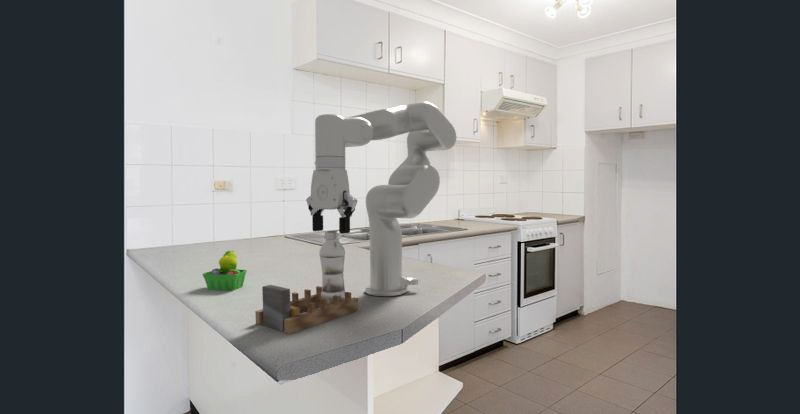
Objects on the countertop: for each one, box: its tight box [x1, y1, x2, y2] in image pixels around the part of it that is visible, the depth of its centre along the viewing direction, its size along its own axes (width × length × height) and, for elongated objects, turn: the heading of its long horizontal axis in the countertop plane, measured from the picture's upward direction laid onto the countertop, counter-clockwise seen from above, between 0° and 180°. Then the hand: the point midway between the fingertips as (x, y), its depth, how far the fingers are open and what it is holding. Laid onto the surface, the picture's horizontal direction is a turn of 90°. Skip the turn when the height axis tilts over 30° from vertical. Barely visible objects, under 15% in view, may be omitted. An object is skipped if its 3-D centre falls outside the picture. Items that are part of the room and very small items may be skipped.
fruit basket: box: [202, 250, 248, 291], centre depth 137 cm, size 11×9×11 cm
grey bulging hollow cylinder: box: [319, 230, 346, 305], centre depth 112 cm, size 6×7×20 cm
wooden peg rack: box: [255, 284, 360, 335], centre depth 106 cm, size 22×12×9 cm, turn 143°
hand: (330, 232), depth 111 cm, fingers open, 9 cm apart
